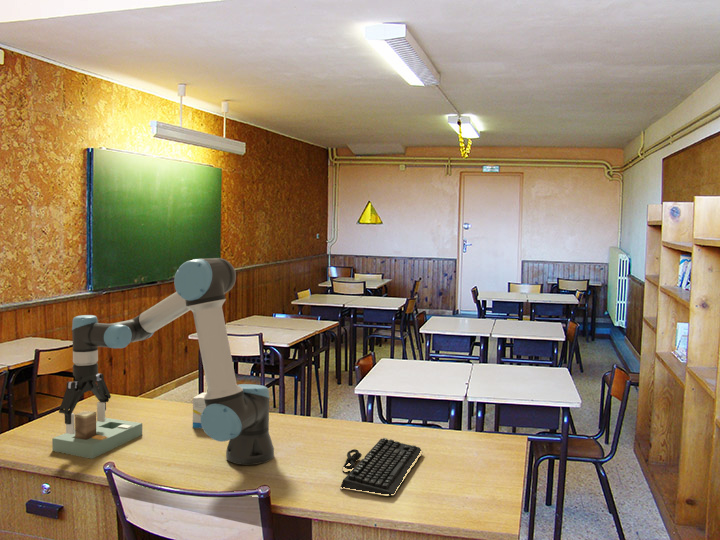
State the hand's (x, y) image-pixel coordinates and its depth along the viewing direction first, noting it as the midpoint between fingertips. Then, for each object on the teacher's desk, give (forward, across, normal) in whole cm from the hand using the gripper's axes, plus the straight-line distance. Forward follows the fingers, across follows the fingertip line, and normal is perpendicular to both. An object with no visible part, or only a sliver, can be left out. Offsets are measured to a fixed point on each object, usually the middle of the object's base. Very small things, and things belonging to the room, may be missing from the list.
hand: (86, 427), depth 205 cm
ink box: (+8, -36, +23) cm, 43 cm away
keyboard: (+9, -21, +93) cm, 96 cm away
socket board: (+7, -6, 0) cm, 10 cm away
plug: (+6, 0, 0) cm, 6 cm away
